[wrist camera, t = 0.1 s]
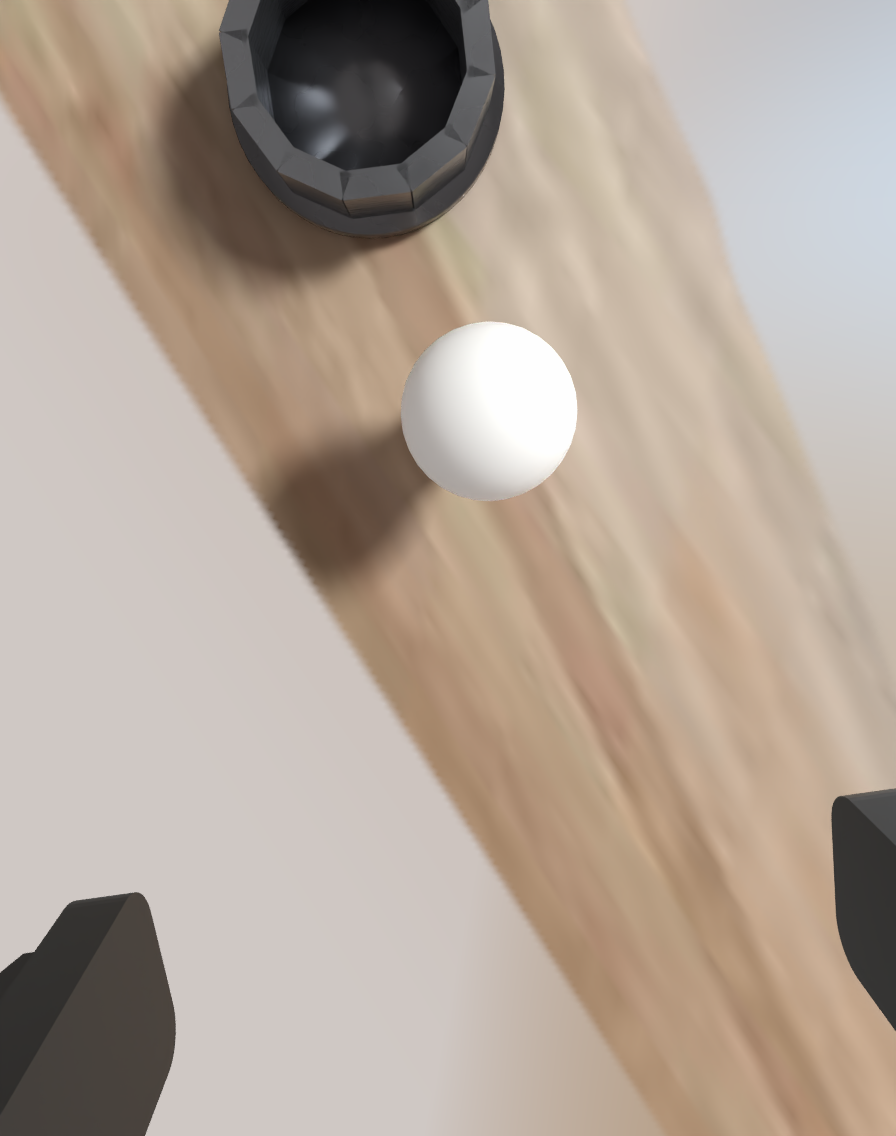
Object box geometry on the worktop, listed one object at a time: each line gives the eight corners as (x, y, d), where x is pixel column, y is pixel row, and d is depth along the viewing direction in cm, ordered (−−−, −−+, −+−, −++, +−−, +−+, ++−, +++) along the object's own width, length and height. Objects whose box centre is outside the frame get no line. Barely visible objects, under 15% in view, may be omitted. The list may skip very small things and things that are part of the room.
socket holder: (210, -37, 34) (176, -101, 29) (486, -74, 34) (494, -144, 29) (257, 254, 36) (232, 235, 32) (516, 220, 36) (527, 197, 31)
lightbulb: (388, 448, 38) (369, 472, 27) (437, 314, 37) (438, 283, 26) (516, 497, 38) (547, 539, 27) (568, 366, 37) (622, 358, 26)
